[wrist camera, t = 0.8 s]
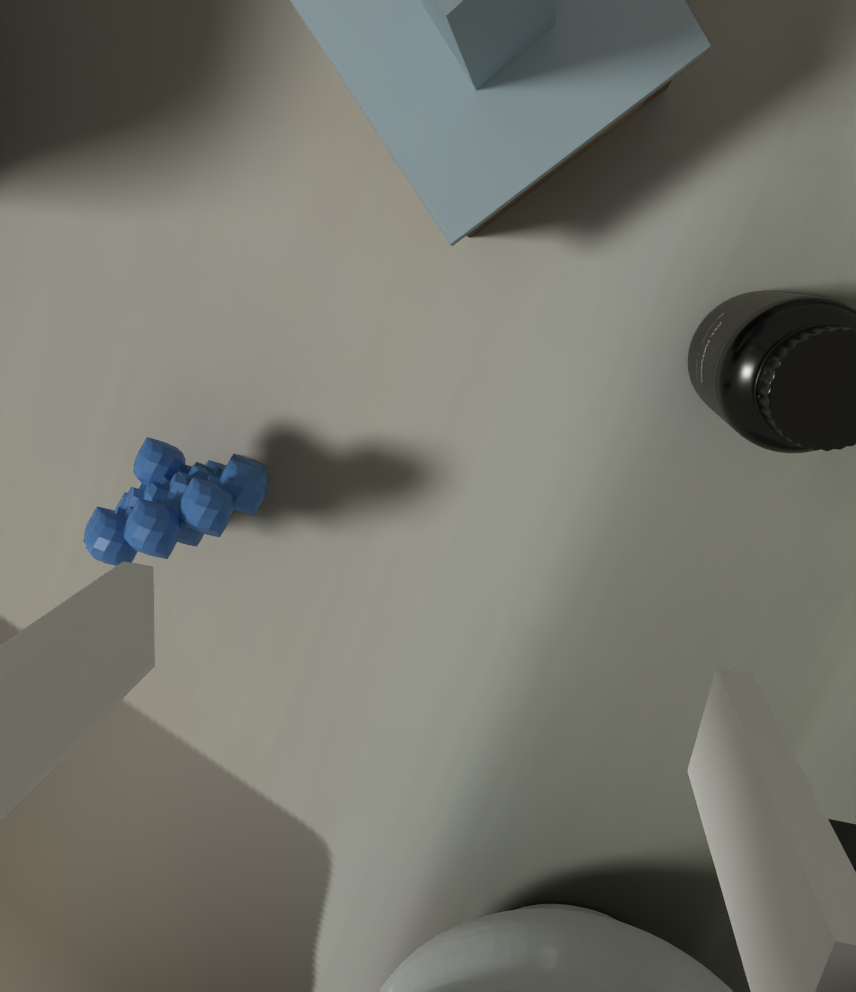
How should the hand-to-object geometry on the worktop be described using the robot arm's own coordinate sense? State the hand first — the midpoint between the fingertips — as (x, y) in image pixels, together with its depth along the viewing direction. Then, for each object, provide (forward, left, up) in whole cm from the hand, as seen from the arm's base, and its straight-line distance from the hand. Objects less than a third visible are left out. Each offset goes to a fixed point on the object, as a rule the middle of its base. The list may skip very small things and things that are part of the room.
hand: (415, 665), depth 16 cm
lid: (-16, +11, -21) cm, 28 cm away
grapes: (-8, -16, -27) cm, 33 cm away
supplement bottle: (+4, +14, -27) cm, 31 cm away
